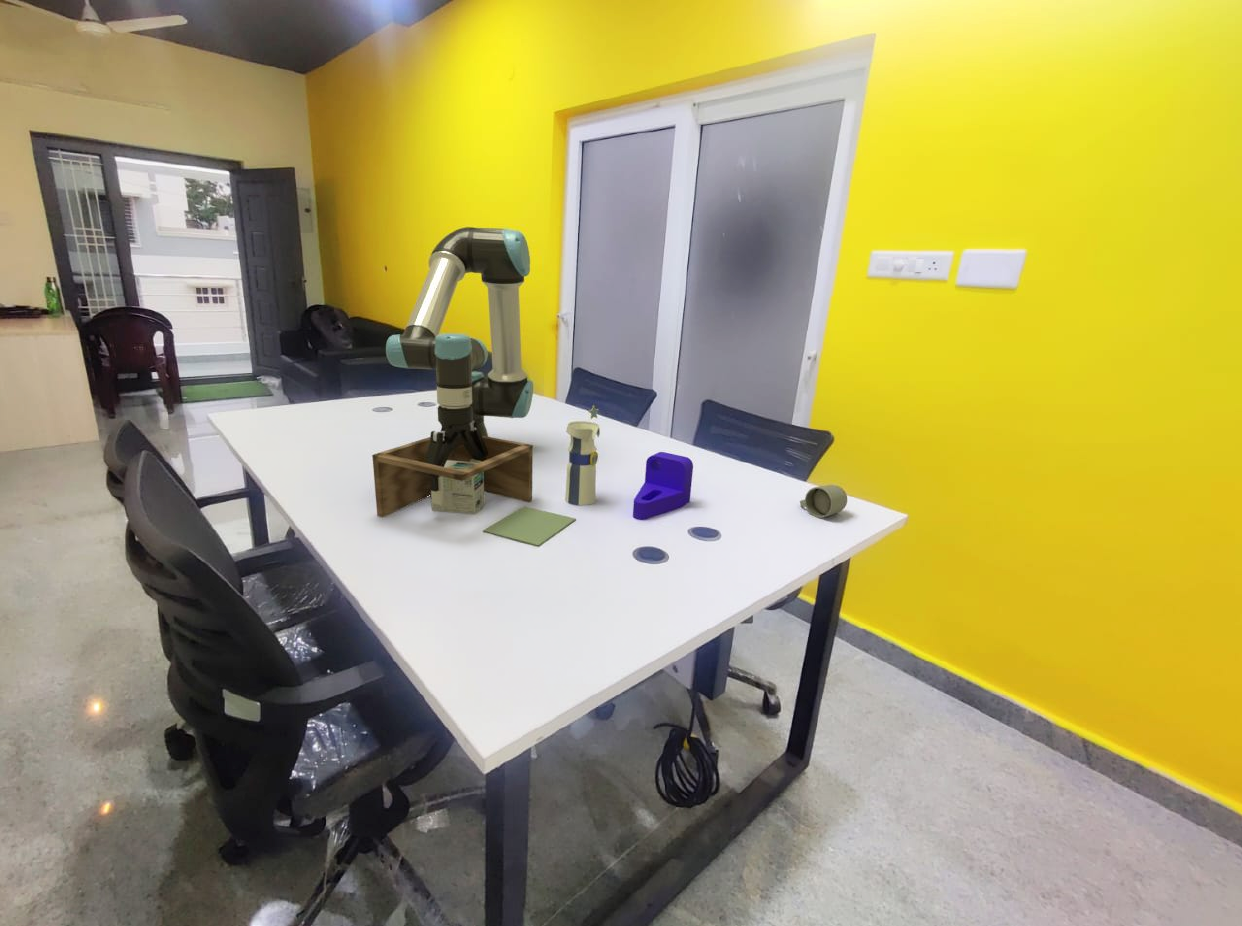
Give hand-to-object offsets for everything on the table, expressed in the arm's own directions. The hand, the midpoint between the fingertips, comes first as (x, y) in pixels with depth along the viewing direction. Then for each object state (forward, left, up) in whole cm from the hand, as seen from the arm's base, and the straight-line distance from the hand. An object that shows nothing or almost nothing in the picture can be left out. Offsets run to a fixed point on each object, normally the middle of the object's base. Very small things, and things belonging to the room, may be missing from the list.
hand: (457, 494), depth 135 cm
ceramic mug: (-45, +77, -4) cm, 89 cm away
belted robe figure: (-20, +22, -4) cm, 30 cm away
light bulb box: (0, 0, -4) cm, 4 cm away
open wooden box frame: (0, 0, -3) cm, 3 cm away
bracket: (-25, +40, -4) cm, 47 cm away
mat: (0, +20, -3) cm, 20 cm away
